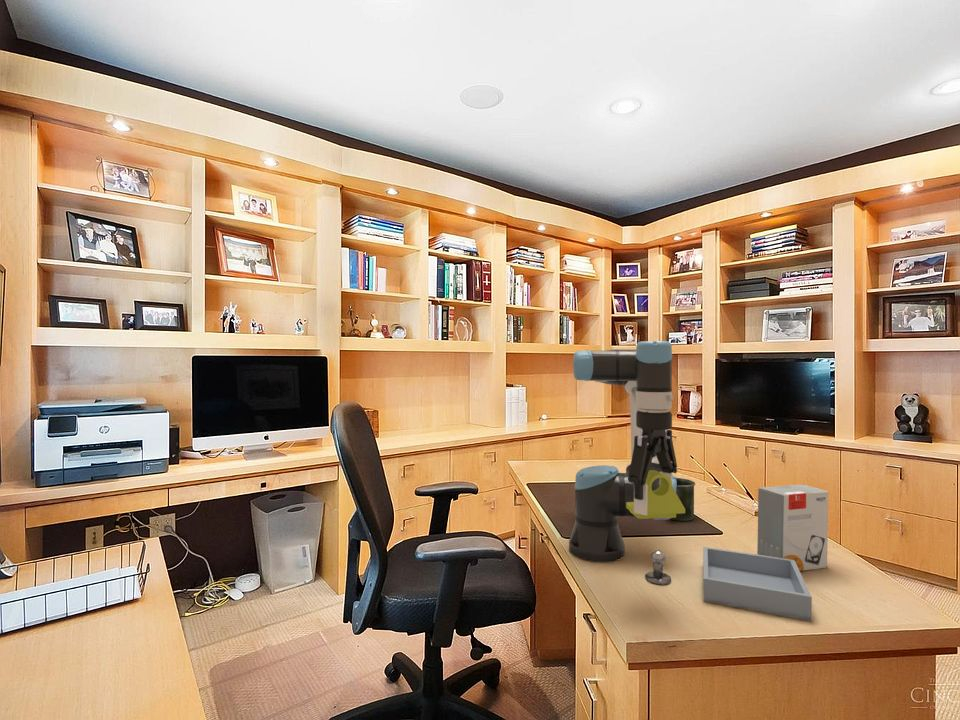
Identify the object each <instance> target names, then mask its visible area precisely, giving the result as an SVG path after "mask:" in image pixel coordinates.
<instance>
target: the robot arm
mask: <svg viewBox="0 0 960 720" xmlns="http://www.w3.org/2000/svg"><path fill="white" fill-rule="evenodd" d="M635 347H636V348H635V349H623V348H622V349H609V350H608V349H607V350H589V349H587V350H586V349H585V350H576V351H575V352H574V354H573V362H572V363H573V365H572V367H573V371H572V372H573V378H574V379H575V380H577V381H586V382H589V381H592V382H595V383H601V384H606V385H611V386H624V390H625V392H626V393H628V394H629V407H630V408H629V410H630V412H629V413H630V416H629V417H630V451H631V453H630V455H631V456H630V457H631V458H630V459H631V462H630V463H628V465H627V466H626V467H625V472H619V469H618V467H616V466H614V465H602V464H601V465H594V466H588V467H583V468H582V469H579V470H578V471H577V472H576V473H575V481H574V483H575V484H574V489H575V495H574V496H575V497H574V498H575V501H574V502H575V505H574V508H575V509H574V511H575V512H574V513H575V515H574V516H575V517H574V519H575V520H574V524H573V528H572V532H571V534H570V537H569V539H568V540H569V541H568V551H569V552H570V554H571V555H573V556H574V557H576V558H578V559H581V560H584V561H590V562H596V563H610V562H616V561H619V560H621V559H623V558H624V557H625V553H626V547H625V543H624V540H623V536H622V534H621V531H620V527H619V517H623V518H624V517H625V518H632V519H633V518H634V519H636V518H637V517H636V516H634V515H633V514H632V513H631V512H630V511H629V510H628V509H627V508H626V503H627V502H634V513H637V514H641V515H645V516H646V515H647V506H648V484H645V482H646V479H647V475H648V472H649V470H656V471H658V472H660V473H662V474H663V475H665V476H667V477H668V478H669V479H670V480H671V483H672V487H673V489H674V491H675V492H676V487H677V481H676V479H677V478H678V477H677V476H675V475H673V474H677V472H678V469H677V468H678V464H677V458H676V452H675V447H674V442H673V431H672V430H671V429H672V427H673V413H672V411H670V410H672V408H673V407H672V404H673V402H672V401H674V399H675V398H674V396H672V395H673V393H672V391H673V390H672V389H673V388H672V383H673V382H672V381H673V379H672V378H673V377H672V374H673V357H674V356H673V355H674V354H673V350H672V348H673V347H672V343H671V342H670V341H667V340H648V341H647V340H644V341H639V342H637V343H636V346H635ZM660 483H661V480H660V478H657V479H655V480H654V481H653V483H652V491H653V490H656V489H657V488H658V487H659V486H660ZM637 519H638V518H637ZM648 520H653V521H656V520H660V521H661V520H662V521H663V520H664V521H665V520H671V519H670V518H649V519H648Z"/></svg>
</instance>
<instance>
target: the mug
mask: <svg viewBox="0 0 960 720" xmlns="http://www.w3.org/2000/svg"><path fill="white" fill-rule="evenodd" d="M676 478H677V479H676V481H677V487H676V494H677V496H678V497H679V499H680V501H681V503H682V504H683V506H684V508H685V513H680V514H676V517H675V518H670V519H669V520H672V521H676V522H677V521H678V522H688V521H691V520H694V517H695V486H696V483H695V481H693V480H691V479H687V478H681V477H680V478H679V477H676Z"/></svg>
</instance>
